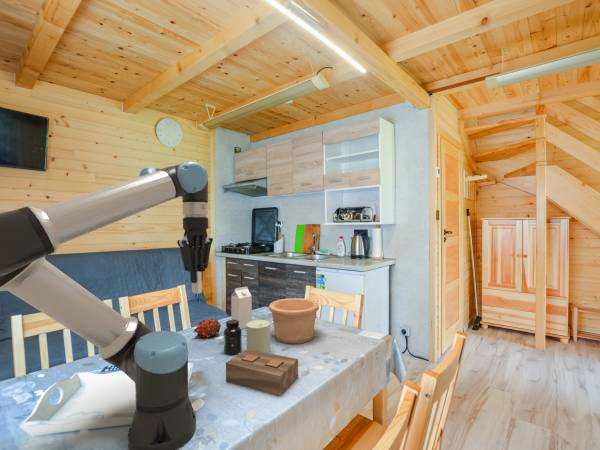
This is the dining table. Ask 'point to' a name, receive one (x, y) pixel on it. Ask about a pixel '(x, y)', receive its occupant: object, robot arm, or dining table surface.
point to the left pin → (250, 358)
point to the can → (258, 335)
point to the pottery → (294, 319)
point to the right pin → (274, 363)
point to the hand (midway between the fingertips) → (196, 292)
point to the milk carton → (241, 306)
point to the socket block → (262, 372)
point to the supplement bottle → (232, 338)
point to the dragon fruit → (208, 328)
